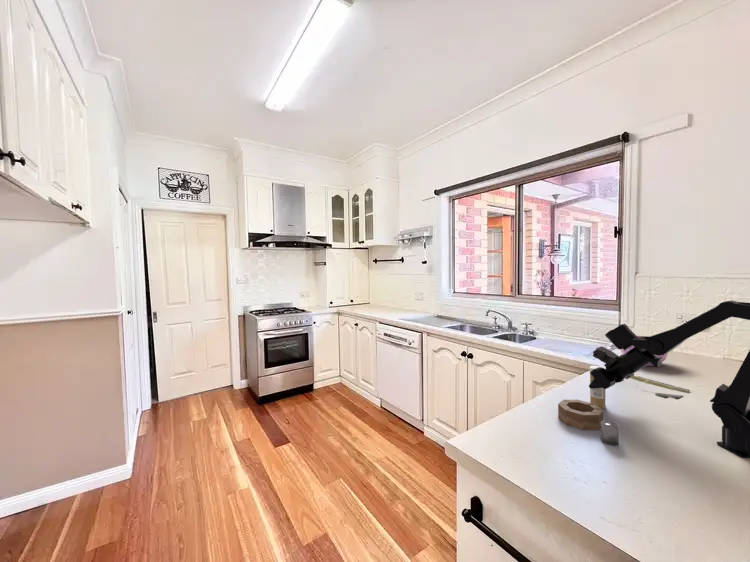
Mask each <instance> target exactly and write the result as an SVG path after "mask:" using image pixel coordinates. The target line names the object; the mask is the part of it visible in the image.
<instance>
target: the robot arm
mask: <svg viewBox="0 0 750 562" xmlns="http://www.w3.org/2000/svg"><path fill="white" fill-rule="evenodd" d="M731 318H736V319H737V318H738V319H742V320H747V321H750V302H746V301H745V302H743V301H737V300H725V301H723V302H720V303H719V304H718V305H716V306H714V307H713V308H711V309H709V310H707V311H705V312H703V313H701V314H699V315H697V316H696V317H694V318H691V319H690V320H688V321H686V322H684V323H682V324H680V325H679V326H676V327H675V328H671V329H668V330H666V331H662V332H660V333H656V334H653V335H651V336H650V335H649V336H647V335H646V336H645V335H640V336H641V337H637V336H638V335H636V333H634V332H633V331H632V330H631V329H630V328H629V326H628V325H627V324H626V323H621V324H620V325H619V326H617V327H615V328H613V329H610V330H608V332H606V333H605V334H604V337H606V339H608V340H609V342H610V343H612V344H613V346H614V347H616V348H617V350H620V351H621V349H623V350H624V351H625V350H627V349H629V348H630V347H632V346H634V348H633V349H631V350H630V351H628V352H626V353H625V354H621V355H618V354H616V353H615V352H614V351H612V350H610V349H608V348H606V347H605V346H601V345H600V346H598V347H596V348H595V350H593V351H592V357H593V358H595V359H597V360H599V361H600V362H602V363H603V366H604V368H605V369H606V370H605V369H604V368H601V367H602V366H600V367H598V368H596V369H594V370H592V371H591V372H590V371H589V374H590V373H591V375H592V376H593V377H594V380H593V381H592V382H591V383H590V382H589V385H588V387H589V389H590V388H591V389H594V388H604V389H605V390H607V389H609V388H611V387H613V386H615V385H616V384H617V383H621V382H625V380H628V379H630V377H632V376H635V373H637V372H639V371H640V370H641V369H643V368H645V367H647V366H646V365H648V364H650V363H651V364H653V366H654V368H658V367H661V366H662V365H663V364H662V363H663V362H662V363H661V359H662V358H661V357H657V356H660V355H664V354H666V353H668V354H669V353H670V352H672V351H673V350H675V349H676V348H677V347H679V346H681V345H682V344H683V343H684V342H686V340H688V339H689V338H691V337H693V336H695V335H697V334H699V333H702V332H704V331H705V330H708V329H710V328H711V327H714V326H716V325H718V324H719V323H722V322H723V321H726V320H728V319H731ZM655 355H657V356H655ZM740 365H741V366H740V367H739V369H738V371H736V374H735V377H734V378H733V380H732V382H731V383H730V385H729V386H728V385H726V384H725V383H721V384H720V385H719V386H718V387H716V389H715V393H714V396H713V397H712V398H711V399H710V400H709V403H712V404H711V410H712V411H713V413H714V414H715V415H716V416H717V418H719V419H720V420H721V422H722V426H721V441H716V444H717V446H720V447H722V448H724V449H726V450H728V451H730V452H731V453H733V454H735V455H736V456H739V457H741V458H750V349H749V350H748V352H747V354H746V356H745V358H744V360H743V361H742V363H741V364H740Z"/></svg>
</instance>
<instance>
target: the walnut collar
mask: <svg viewBox="0 0 750 562" xmlns="http://www.w3.org/2000/svg"><path fill="white" fill-rule="evenodd" d="M557 413H558V414H557V418H558V419H559V420H560V421H561V422H563V423H564V424H565V425H567V426H570V427H572V428H575V429H578V430H583V431H599V430H600V431H601V421H604V409H603V408H600V407H598V406H597V405H595V404H593V403H590V401H589V402H588V401H585V400H580V399H562V400H561V401H560V402H558V404H557Z"/></svg>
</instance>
